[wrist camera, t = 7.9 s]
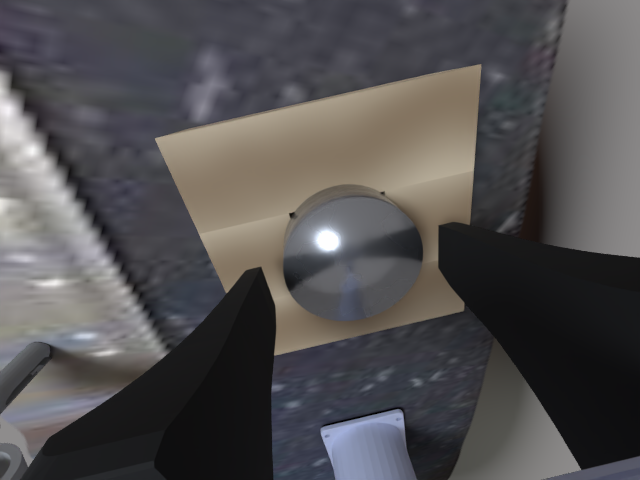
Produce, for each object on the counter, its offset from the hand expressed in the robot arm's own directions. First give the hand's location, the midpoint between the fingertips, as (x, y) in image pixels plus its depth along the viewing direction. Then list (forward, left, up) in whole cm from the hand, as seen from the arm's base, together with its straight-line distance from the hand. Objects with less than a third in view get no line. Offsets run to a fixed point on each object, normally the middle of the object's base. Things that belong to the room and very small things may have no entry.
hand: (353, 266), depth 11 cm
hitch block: (0, 0, -6) cm, 6 cm away
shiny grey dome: (0, 0, -5) cm, 5 cm away
